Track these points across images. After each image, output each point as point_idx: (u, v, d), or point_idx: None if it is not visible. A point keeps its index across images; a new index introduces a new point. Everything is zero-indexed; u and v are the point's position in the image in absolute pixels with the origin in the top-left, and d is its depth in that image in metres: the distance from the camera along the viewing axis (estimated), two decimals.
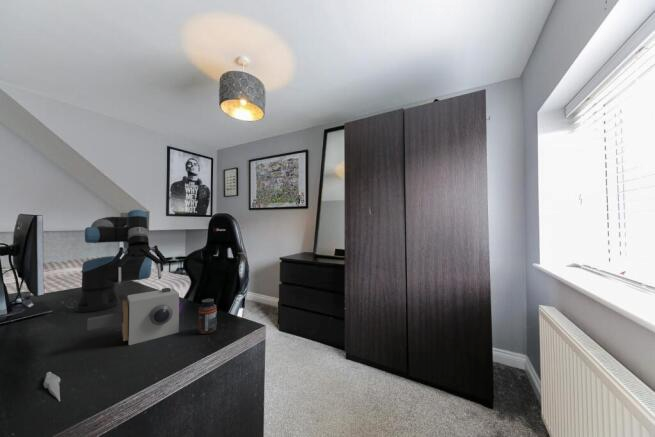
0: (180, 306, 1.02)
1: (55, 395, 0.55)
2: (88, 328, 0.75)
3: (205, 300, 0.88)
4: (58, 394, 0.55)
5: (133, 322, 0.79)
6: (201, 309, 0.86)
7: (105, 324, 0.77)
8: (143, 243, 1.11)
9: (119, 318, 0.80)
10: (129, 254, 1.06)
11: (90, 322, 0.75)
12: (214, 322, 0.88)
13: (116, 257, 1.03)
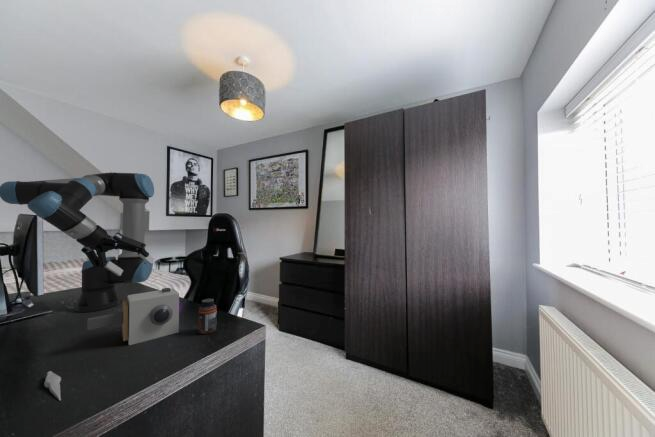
0: (180, 306, 1.02)
1: (56, 394, 0.55)
2: (88, 328, 0.75)
3: (205, 300, 0.88)
4: (59, 393, 0.55)
5: (133, 322, 0.79)
6: (201, 309, 0.86)
7: (105, 324, 0.77)
8: None
9: (119, 318, 0.80)
10: (98, 254, 0.87)
11: (90, 322, 0.75)
12: (214, 322, 0.88)
13: (90, 259, 0.88)
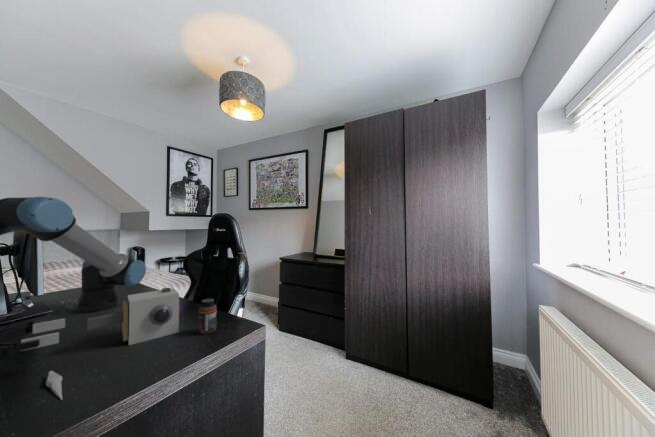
0: (180, 306, 1.02)
1: (57, 394, 0.55)
2: (88, 328, 0.75)
3: (205, 300, 0.88)
4: (60, 393, 0.55)
5: (133, 322, 0.79)
6: (201, 309, 0.86)
7: (105, 324, 0.77)
8: None
9: (119, 318, 0.80)
10: None
11: (90, 322, 0.75)
12: (214, 322, 0.88)
13: None
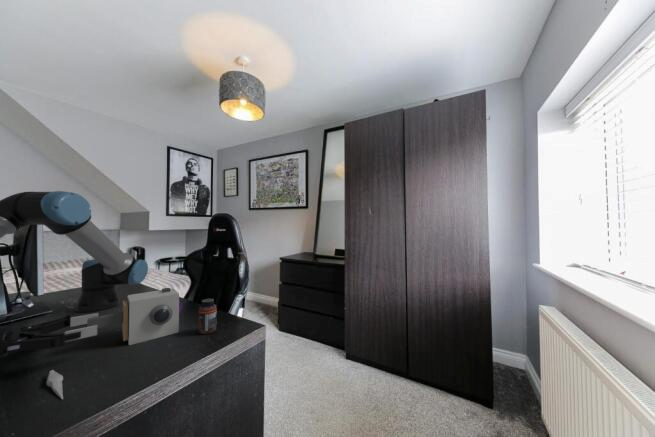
0: (180, 306, 1.02)
1: (58, 393, 0.55)
2: None
3: (205, 300, 0.88)
4: (61, 392, 0.55)
5: (133, 322, 0.79)
6: (201, 309, 0.86)
7: (105, 324, 0.77)
8: (7, 350, 0.64)
9: (119, 318, 0.80)
10: None
11: (90, 322, 0.75)
12: (214, 322, 0.88)
13: None
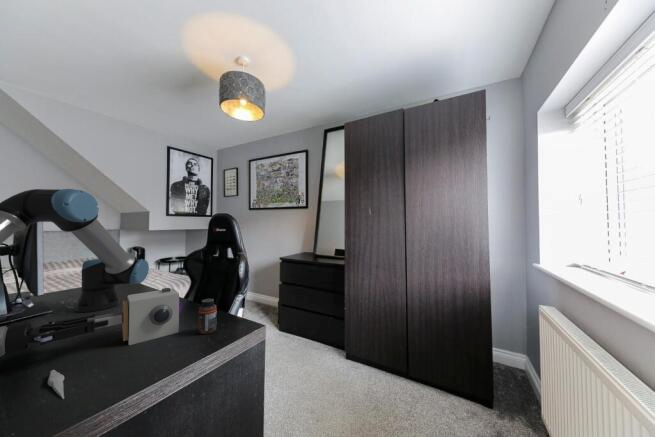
0: (180, 306, 1.02)
1: (59, 393, 0.55)
2: None
3: (205, 300, 0.88)
4: (62, 392, 0.56)
5: (133, 322, 0.79)
6: (201, 309, 0.86)
7: None
8: (28, 344, 0.66)
9: None
10: None
11: None
12: (214, 322, 0.88)
13: None
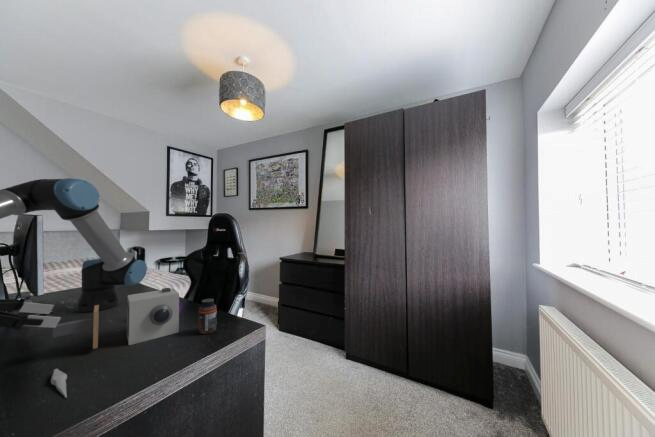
0: (180, 306, 1.02)
1: (62, 391, 0.56)
2: (54, 335, 0.70)
3: (205, 300, 0.88)
4: (65, 390, 0.56)
5: (133, 322, 0.79)
6: (201, 309, 0.86)
7: (73, 330, 0.73)
8: None
9: (89, 324, 0.75)
10: None
11: (56, 328, 0.70)
12: (214, 322, 0.88)
13: None
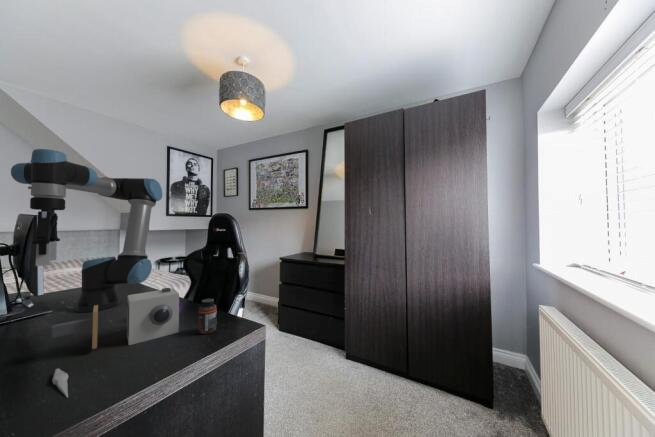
0: (180, 306, 1.02)
1: (63, 391, 0.56)
2: (53, 335, 0.70)
3: (205, 300, 0.88)
4: (66, 390, 0.56)
5: (133, 322, 0.79)
6: (201, 309, 0.86)
7: (72, 330, 0.72)
8: (38, 209, 0.77)
9: (88, 324, 0.75)
10: None
11: (55, 328, 0.70)
12: (214, 322, 0.88)
13: None
